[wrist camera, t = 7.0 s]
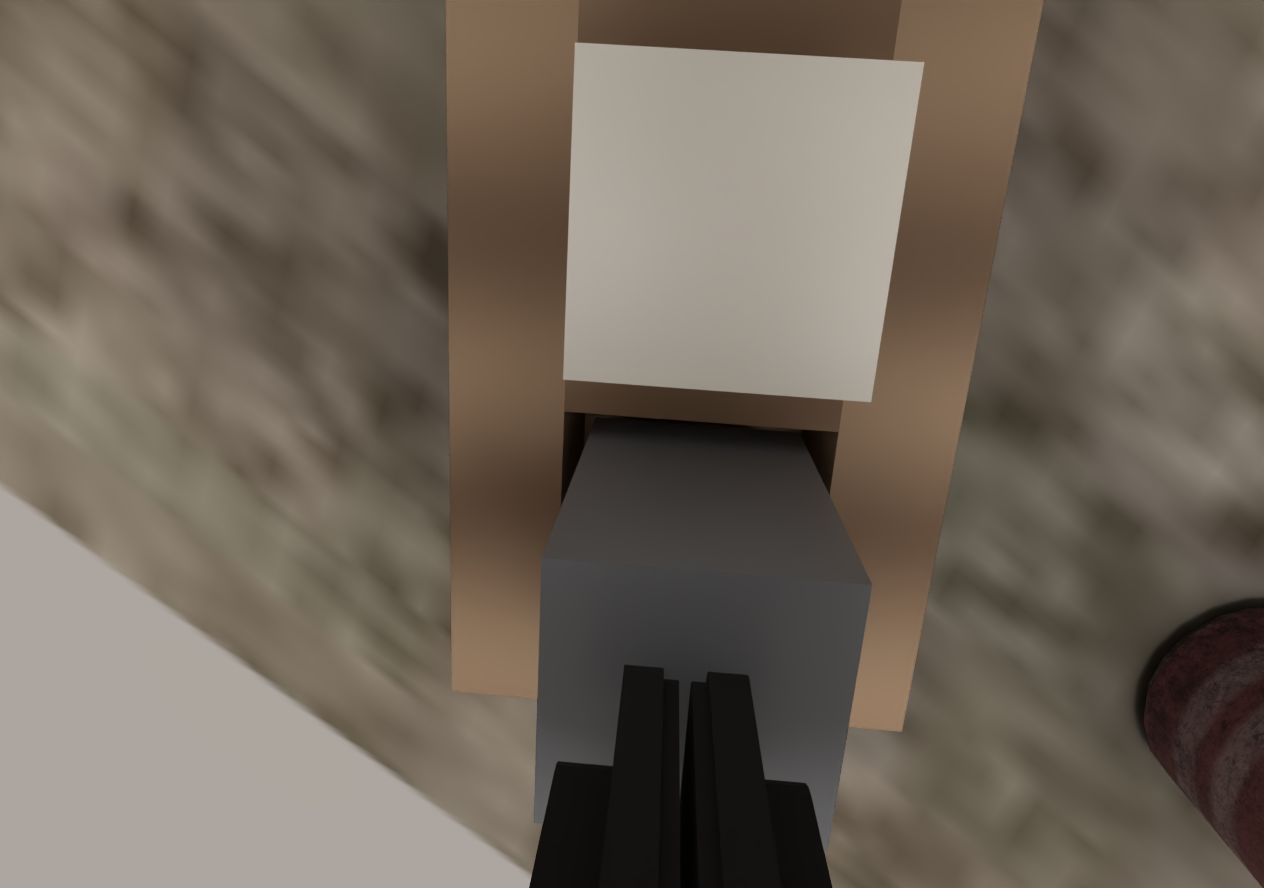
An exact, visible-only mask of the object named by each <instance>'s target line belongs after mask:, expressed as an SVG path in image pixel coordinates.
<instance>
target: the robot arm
mask: <svg viewBox="0 0 1264 888" xmlns="http://www.w3.org/2000/svg"><path fill="white" fill-rule="evenodd" d="M529 888H832V884H831V880H830V876H829V871H828V867H827V862H826V858H825V854H824V849H823V845H822V840H821V836H820V832H819V827H818V823H817V818H816V814H815V810H814V805H813V801H812V796H811V793H810V790H809V787H808V786H807V784H806V783H801V782H789V781H778V780H767V779H765V777H764V770H763V764H762V757H761V750H760V744H759V737H758V731H757V724H756V718H755V711H754V705H753V698H752V692H751V685H750V679H749V676H748V675H744V674H732V673H720V672H708V673H707V677H706V682H696V681H692V682H691V687H690V697H689V707H688V718H687V728H686V738H685V749H684V759H683V770H682V780H681V791H680V748H679V680H672V679H664V668H660V667H648V666H636V665H625V664H624V671H623V680H622V689H621V698H620V707H619V715H618V724H617V733H616V742H615V751H614V760H613V766H607V765H596V764H584V763H573V762H562V761H558V762H557V764H556V767H555V771H554V775H553V779H552V784H551V789H550V793H549V798H548V803H547V807H546V812H545V817H544V821H543V826H542V831H541V835H540V840H539V845H538V849H537V854H536V859H535V863H534V868H533V873H532V877H531V882H530V887H529Z"/></svg>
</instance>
